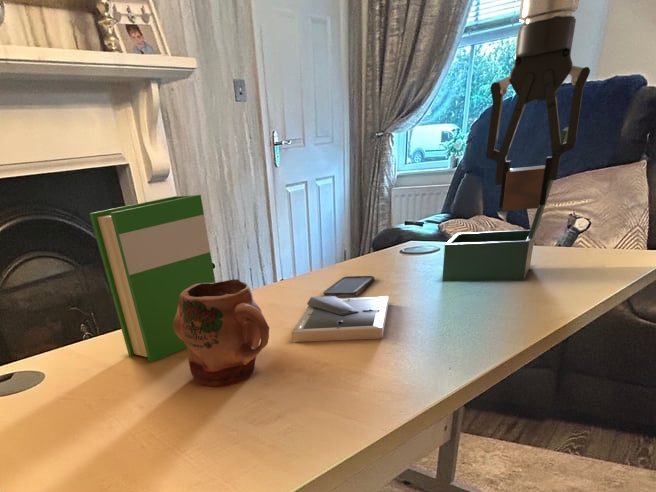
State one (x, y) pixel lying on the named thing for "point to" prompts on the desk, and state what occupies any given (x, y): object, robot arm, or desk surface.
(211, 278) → the hardback book
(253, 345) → the terracotta mug
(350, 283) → the phone
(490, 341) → the desk surface
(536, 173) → the block
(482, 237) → the box
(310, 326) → the picture frame
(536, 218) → the lid
